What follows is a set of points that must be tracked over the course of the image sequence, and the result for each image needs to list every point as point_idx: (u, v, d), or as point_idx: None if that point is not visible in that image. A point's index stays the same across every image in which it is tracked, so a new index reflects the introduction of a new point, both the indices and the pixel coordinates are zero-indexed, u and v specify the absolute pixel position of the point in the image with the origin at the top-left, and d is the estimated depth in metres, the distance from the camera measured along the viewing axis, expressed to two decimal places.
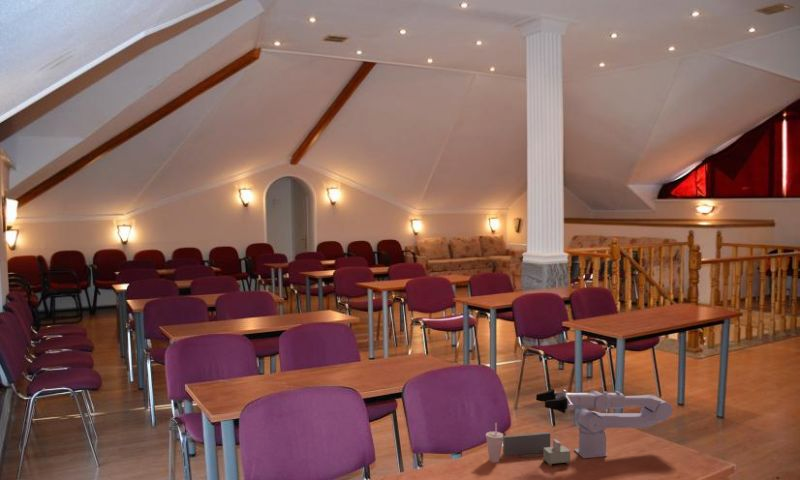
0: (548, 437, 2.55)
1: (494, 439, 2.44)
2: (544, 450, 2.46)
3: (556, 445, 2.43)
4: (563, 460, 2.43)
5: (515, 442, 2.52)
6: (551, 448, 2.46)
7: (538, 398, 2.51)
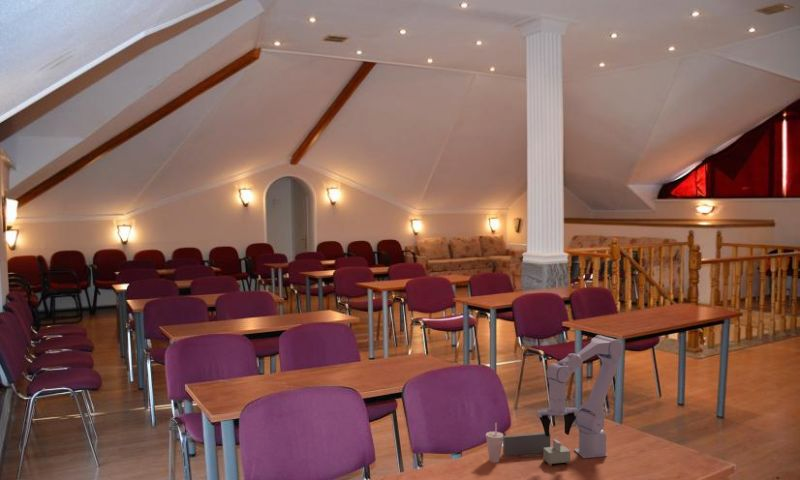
0: (548, 437, 2.55)
1: (494, 439, 2.44)
2: (544, 450, 2.46)
3: (556, 445, 2.43)
4: (563, 460, 2.43)
5: (515, 442, 2.52)
6: (551, 448, 2.46)
7: None
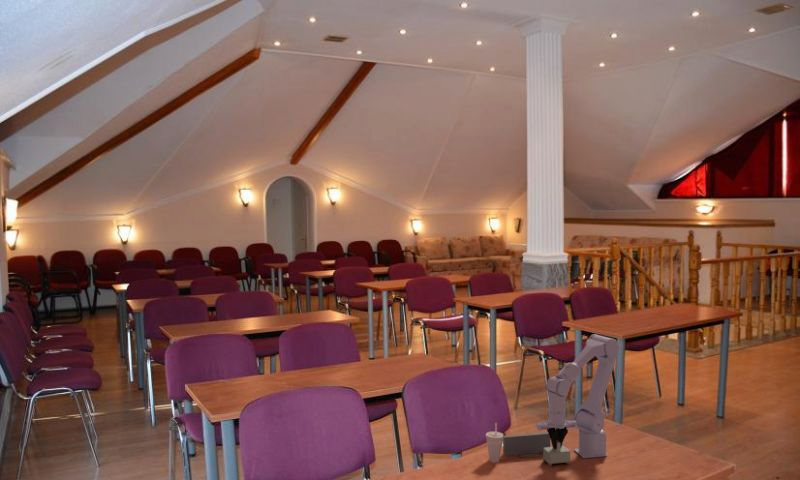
0: (548, 437, 2.55)
1: (494, 439, 2.44)
2: (544, 450, 2.46)
3: None
4: (563, 460, 2.43)
5: (515, 442, 2.52)
6: (551, 448, 2.46)
7: None
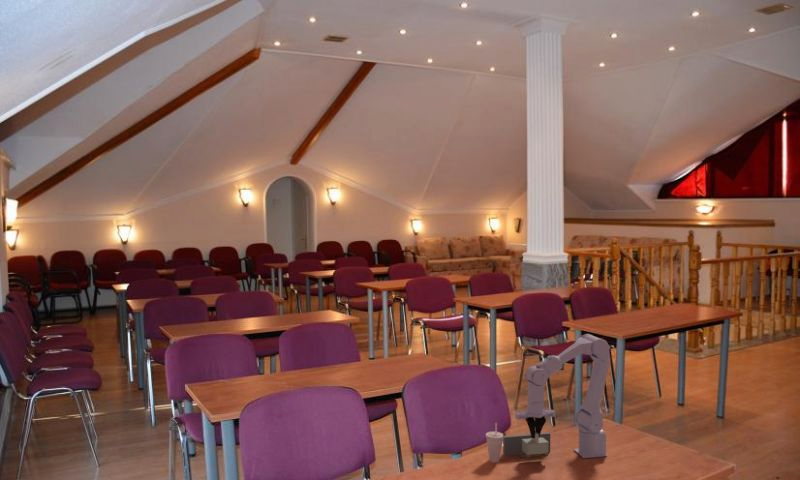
0: (548, 437, 2.55)
1: (494, 439, 2.44)
2: (523, 442, 2.47)
3: (535, 436, 2.45)
4: (541, 451, 2.44)
5: (515, 442, 2.52)
6: (530, 439, 2.47)
7: None
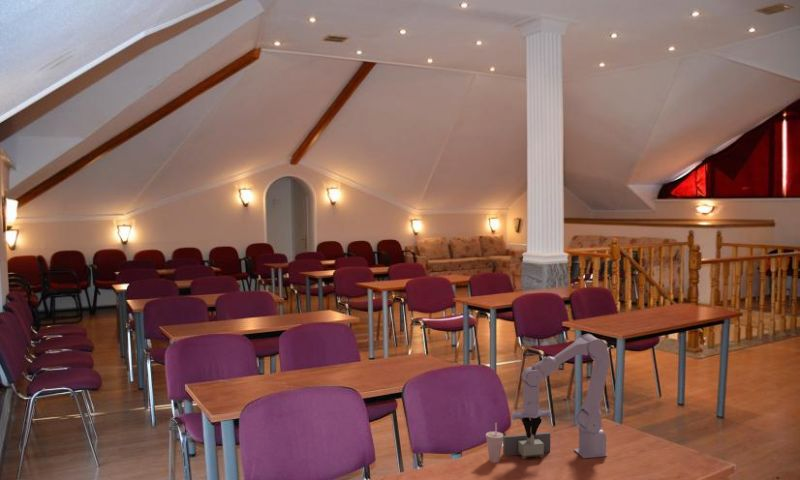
0: (548, 437, 2.55)
1: (494, 439, 2.44)
2: (519, 443, 2.51)
3: (530, 437, 2.49)
4: (537, 452, 2.48)
5: (515, 442, 2.52)
6: (525, 441, 2.51)
7: None
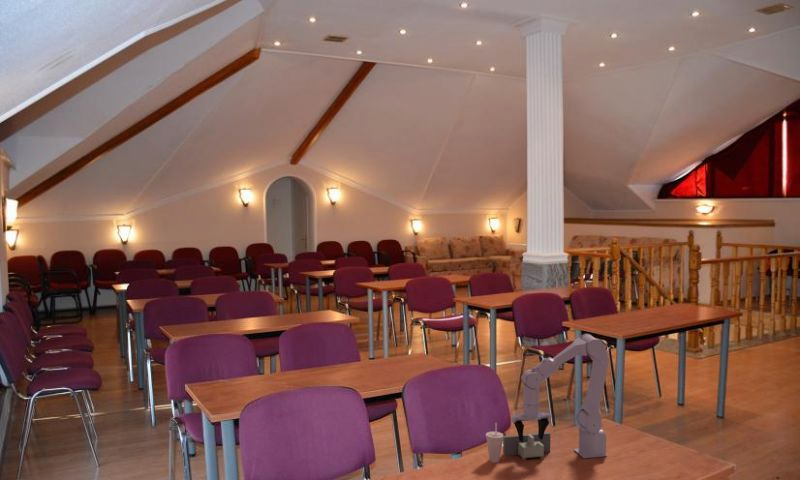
0: (548, 437, 2.55)
1: (494, 439, 2.44)
2: (519, 445, 2.51)
3: (530, 439, 2.49)
4: (537, 454, 2.48)
5: (515, 442, 2.52)
6: (525, 443, 2.51)
7: None
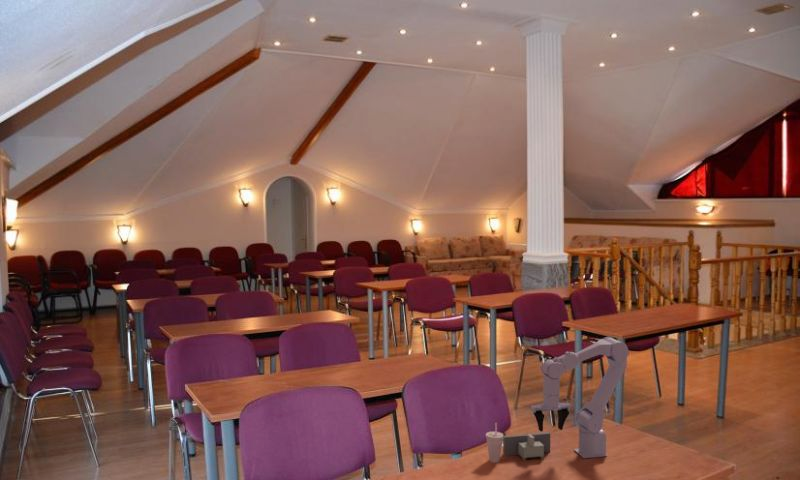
0: (548, 437, 2.55)
1: (494, 439, 2.44)
2: (519, 445, 2.51)
3: (530, 439, 2.49)
4: (537, 454, 2.48)
5: (515, 442, 2.52)
6: (525, 443, 2.51)
7: None
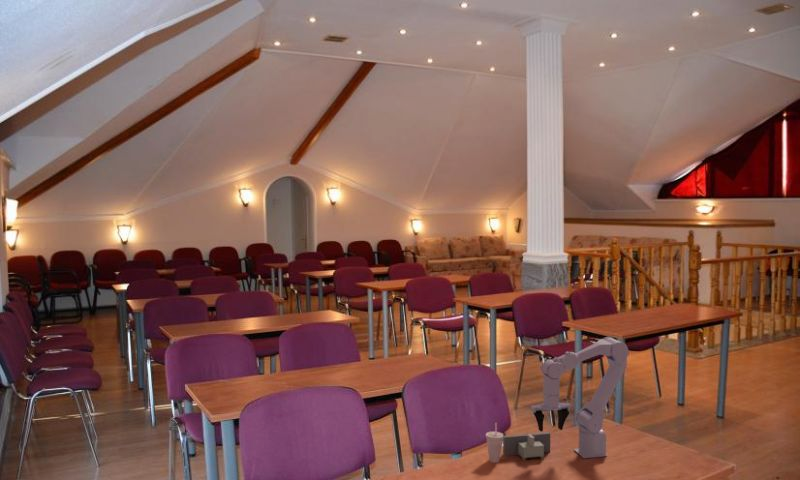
0: (548, 437, 2.55)
1: (494, 439, 2.44)
2: (519, 445, 2.51)
3: (530, 439, 2.49)
4: (537, 454, 2.48)
5: (515, 442, 2.52)
6: (525, 443, 2.51)
7: None
